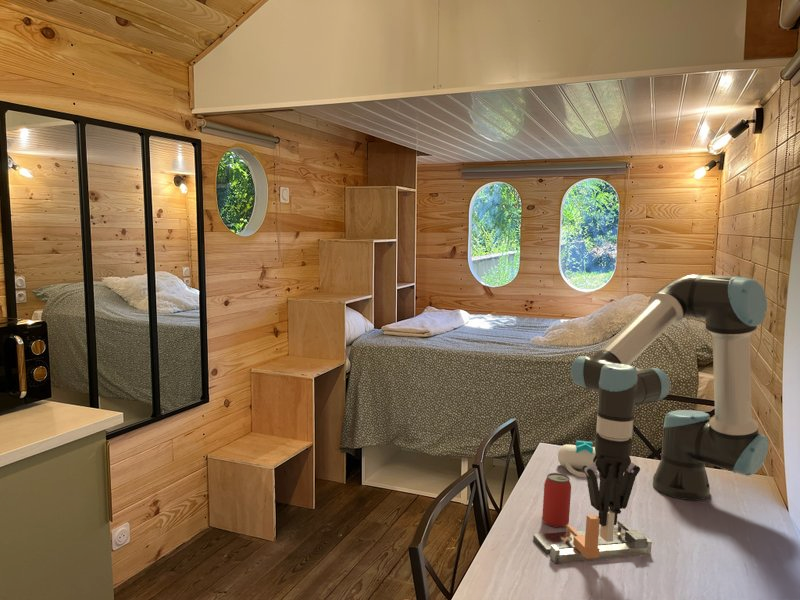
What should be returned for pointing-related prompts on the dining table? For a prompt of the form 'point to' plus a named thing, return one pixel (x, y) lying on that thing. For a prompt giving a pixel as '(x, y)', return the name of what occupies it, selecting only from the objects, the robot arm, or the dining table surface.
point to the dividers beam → (607, 548)
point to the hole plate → (567, 542)
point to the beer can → (556, 500)
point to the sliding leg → (587, 537)
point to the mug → (576, 456)
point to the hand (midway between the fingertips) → (606, 538)
